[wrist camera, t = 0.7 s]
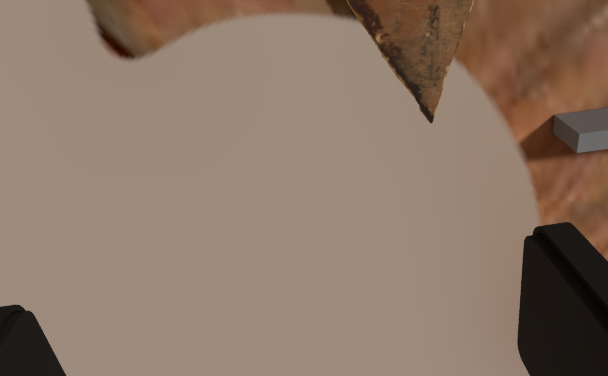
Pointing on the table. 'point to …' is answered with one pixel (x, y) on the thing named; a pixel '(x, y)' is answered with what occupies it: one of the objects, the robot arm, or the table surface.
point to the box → (583, 129)
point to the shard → (416, 41)
